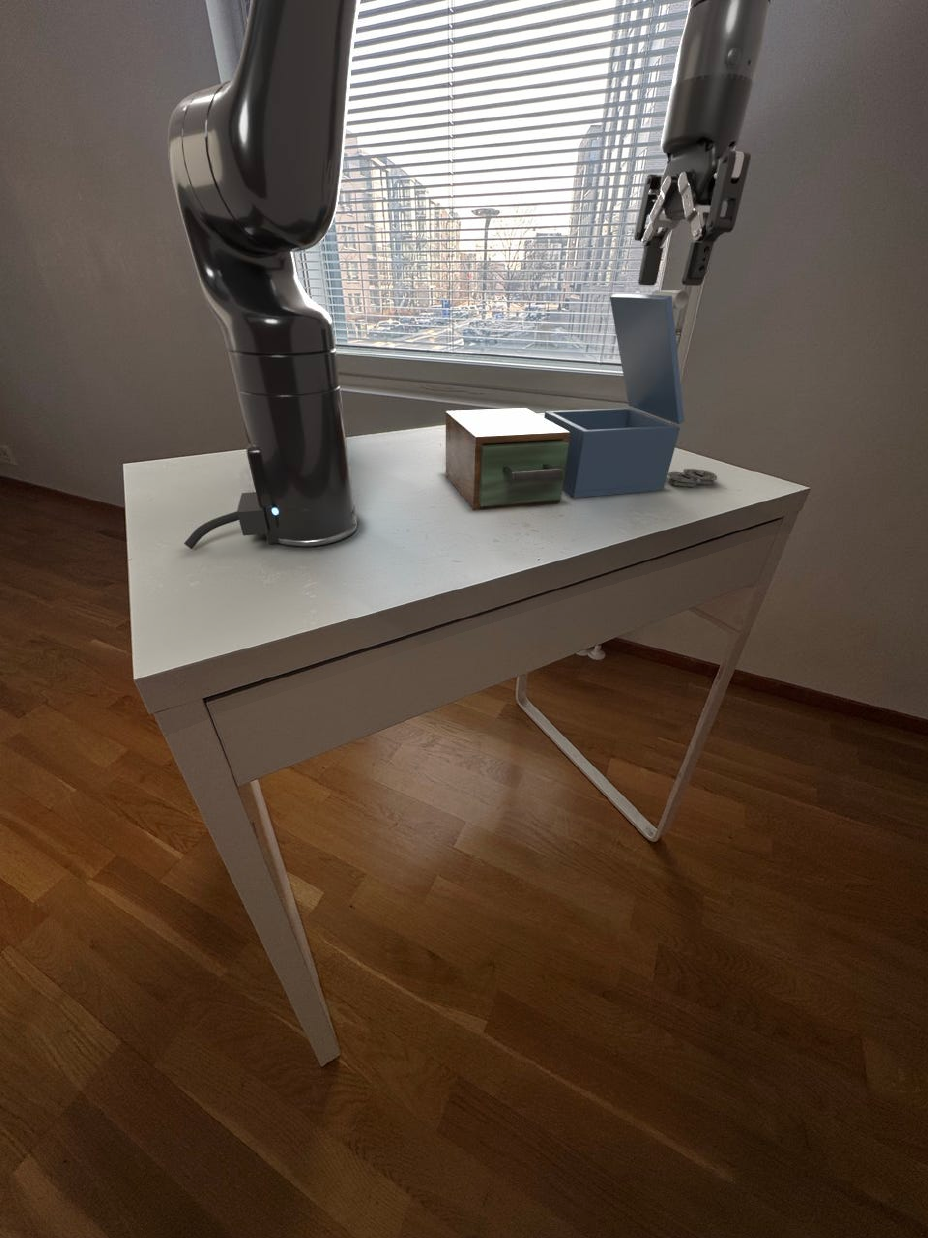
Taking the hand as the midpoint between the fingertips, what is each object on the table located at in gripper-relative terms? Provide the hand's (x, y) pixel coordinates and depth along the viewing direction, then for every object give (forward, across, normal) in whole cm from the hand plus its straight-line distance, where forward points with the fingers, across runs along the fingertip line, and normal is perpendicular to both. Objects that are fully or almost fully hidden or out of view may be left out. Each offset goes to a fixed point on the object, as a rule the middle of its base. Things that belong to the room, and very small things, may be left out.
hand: (667, 285), depth 56 cm
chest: (+23, 0, +4) cm, 23 cm away
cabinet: (+23, 0, +20) cm, 30 cm away
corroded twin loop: (+23, -4, -8) cm, 25 cm away
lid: (+8, 0, +1) cm, 8 cm away
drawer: (+22, -4, +20) cm, 30 cm away
